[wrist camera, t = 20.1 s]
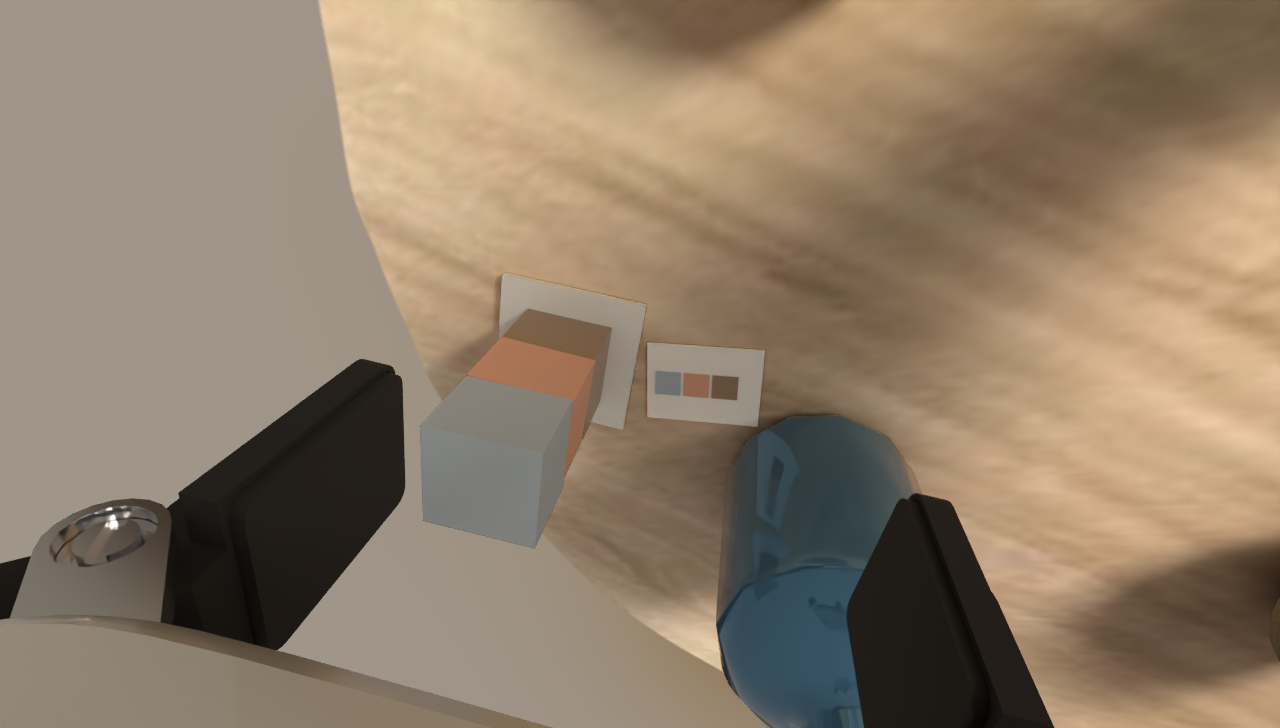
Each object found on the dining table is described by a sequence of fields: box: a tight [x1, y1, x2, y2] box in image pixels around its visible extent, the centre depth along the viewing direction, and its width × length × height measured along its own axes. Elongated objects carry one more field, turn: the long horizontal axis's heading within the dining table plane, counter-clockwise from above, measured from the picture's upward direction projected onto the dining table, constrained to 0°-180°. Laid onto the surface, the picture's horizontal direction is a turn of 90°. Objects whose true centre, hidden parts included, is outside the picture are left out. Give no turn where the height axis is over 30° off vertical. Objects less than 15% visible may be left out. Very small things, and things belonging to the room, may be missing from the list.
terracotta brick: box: [467, 337, 596, 477], centre depth 35 cm, size 6×6×5 cm
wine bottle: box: [716, 415, 922, 728], centre depth 31 cm, size 14×13×30 cm
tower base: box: [498, 272, 647, 439], centre depth 40 cm, size 10×10×6 cm
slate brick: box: [420, 376, 573, 548], centre depth 31 cm, size 6×6×5 cm
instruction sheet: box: [647, 342, 765, 427], centre depth 42 cm, size 8×6×1 cm
